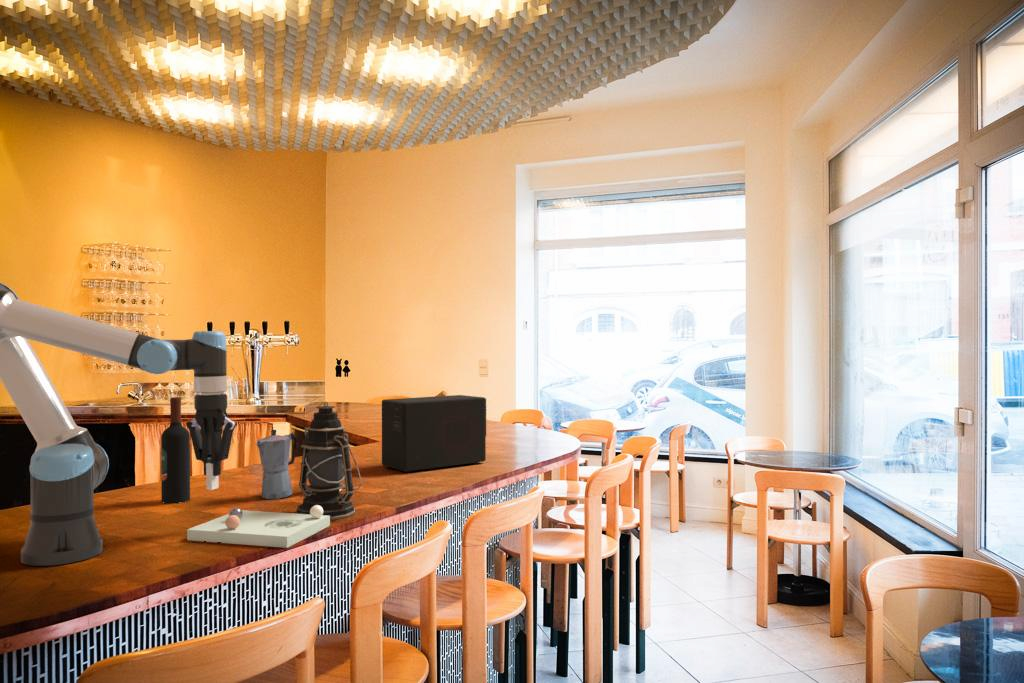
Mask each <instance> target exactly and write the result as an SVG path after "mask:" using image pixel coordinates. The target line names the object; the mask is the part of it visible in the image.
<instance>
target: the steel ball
mask: <svg viewBox="0 0 1024 683" xmlns="http://www.w3.org/2000/svg"><path fill="white" fill-rule="evenodd" d="M228 514H229V516H231V515H236V516H238V517H239V519H241V518H242V515H243V512H242V508H240V507H236V506H235V507H232V508H231V509H230V510H229V513H228Z"/></svg>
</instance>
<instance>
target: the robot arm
mask: <svg viewBox="0 0 1024 683" xmlns="http://www.w3.org/2000/svg"><path fill="white" fill-rule="evenodd" d="M29 340H30V341H34V342H38V343H42V344H46V345H49V346H53V347H57V348H61V349H65V350H68V351H72V352H76V353H79V354H83V355H87V356H91V357H95V358H99V359H103V360H107V361H110V362H115V363H117V364H121V365H126V366H128V367H133V368H136V369H139V370H141V371H142V372H146V373H149V374H153V375H163V374H164V373H168V372H171V371H191V370H193V392H194V393H196V394H195V395H194V402H193V403H194V405H193V406H194V410H195V414H194V418H193V419H192V420H190V421H186V423H185V426H186V428H187V430H188V431H189V433H190V440H191V442H192V447H193V451H194V452H193V453H194V455H195V459H196V461H197V460H198V461H201V462H202V463H203V475H204V476H205V477H206V479H205V481H206V484H205V485H206V486H205V487H206V489H205V490H207V491H213V490H216V489H219V487H220V486H219V485H220V483H219V482H220V479H219V476H220V475H221V474H222V465H221V464H222V461H225V460H227V459H228V458H229V454H230V450H231V445H232V441H233V440H232V438H233V434H234V430H235V428H236V426H237V425H238V424H237V421H235V420H234V421H233V420H231V419H230V418H229V415H228V413H227V408H228V394H226V393H225V392H226V391H228V383H227V382H228V381H227V380H228V379H227V378H228V377H227V372H228V371H227V368H228V367H227V352H228V351H227V341H226V334H225V333H224V332H223V331H221V330H215V331H214V330H212V331H211V330H208V331H207V330H206V331H205V330H204V331H203V330H202V331H201V330H199V331H197V330H196V331H194V332H193V335H192V337H191V338H188V339H160V338H156V337H153V336H149V335H146V334H141V333H138V332H134V331H132V330H127V329H125V328H120V327H118V326H113V325H111V324H107V323H103V322H99V321H96V320H92V319H88V318H86V317H82V316H78V315H74V314H71V313H67V312H64V311H60V310H57V309H53V308H50V307H45V306H42V305H39V304H36V303H33V302H27V301H24V300H21V299H19V296H18V295H17V293H16V292H15V291H14V290H13V289H11V288H10V287H9V286H7V285H6V284H4V283H2V282H0V382H1V383H2V384H3V386H4V388H5V390H6V391H7V393H8V395H9V397H10V398H11V400H12V403H14V405H15V407H16V410H18V412H19V414H20V416H21V417H22V420H23V421H24V423H25V424H26V426H27V428H28V430H29V432H30V433H31V435H32V436H33V438H34V440H35V441H36V444H37V445H36V448H35V450H34V452H33V454H32V455H31V458H30V464H29V466H28V467H29V473H30V474H29V475H30V476H29V477H30V478H29V479H30V490H29V492H30V525H29V528H28V531H27V532H26V533H27V534H26V537H25V541H24V545H23V546H22V547H21V550H20V562H21V564H23V565H26V566H31V567H32V566H33V567H37V566H38V567H47V566H59V565H67V564H72V563H78V562H80V561H85V560H88V559H91V558H94V557H96V556H98V555H100V554H101V553H102V552H103V550H104V548H103V547H104V545H103V542H104V541H103V537H102V536H100V533H99V532H100V531H99V529H98V525H97V522H96V520H95V517H94V514H95V513H94V490H95V489H96V488H98V486H100V485H101V484H102V483H103V482H104V480H105V479H106V476H107V474H108V471H109V467H110V463H109V462H110V461H109V456H108V454H107V453H106V452H107V451H105V449H104V448H103V447H102V446H101V445H99V444H98V443H96V442H95V441H94V439H93V436H92V435H91V433H90V432H89V430H88V429H87V428H85V427H82V426H78V425H77V424H76V422H75V420H74V419H73V416H72V414H71V413H70V411H69V410H68V408H67V406H66V404H65V402H64V401H63V399H62V397H61V396H60V393H59V392H58V391H57V390H58V389H57V388H56V387H55V385H54V383H53V382H52V379H51V378H50V375H49V374H48V372H47V371H46V369H45V367H44V366H43V364H42V362H41V361H40V360H41V359H39V356H38V355H37V353H36V351H35V350H34V348H33V346H32V344H31V342H30V341H29Z"/></svg>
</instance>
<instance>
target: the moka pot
mask: <svg viewBox="0 0 1024 683" xmlns="http://www.w3.org/2000/svg"><path fill="white" fill-rule="evenodd" d="M270 432H271V435H269V436H266V437H262V438H260V439H257V441H256V443H255V446H256V447H257V448H258V453H259V457H260V463H261V464H260V465H262V470H263V473H262V481H261V482H262V485H261V498H263V499H264V498H265V500H278V499H283V498H287V497H289V496H292V495H293V488H292V487H293V486H292V481H291V475H290V472H289V465H293V464H295V458H296V454H297V449H298V445H299V439H298V438H297V436H296V435H295V433H293V432H291V433H289V434H284V435H278V434H277V429H272V430H270ZM291 440H293V441H294V443H293V448H292V455H291V454H290V452H291V442H292V441H291ZM290 455H291V456H290ZM290 457H291V459H290Z"/></svg>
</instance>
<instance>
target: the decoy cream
mask: <svg viewBox="0 0 1024 683" xmlns="http://www.w3.org/2000/svg"><path fill="white" fill-rule="evenodd" d="M310 514H311V516H312V517H313V518H320V517H321V516H322V515H323V508H322V507H321V506H319V505H315V506H313V507H312V508H311V510H310Z"/></svg>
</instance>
